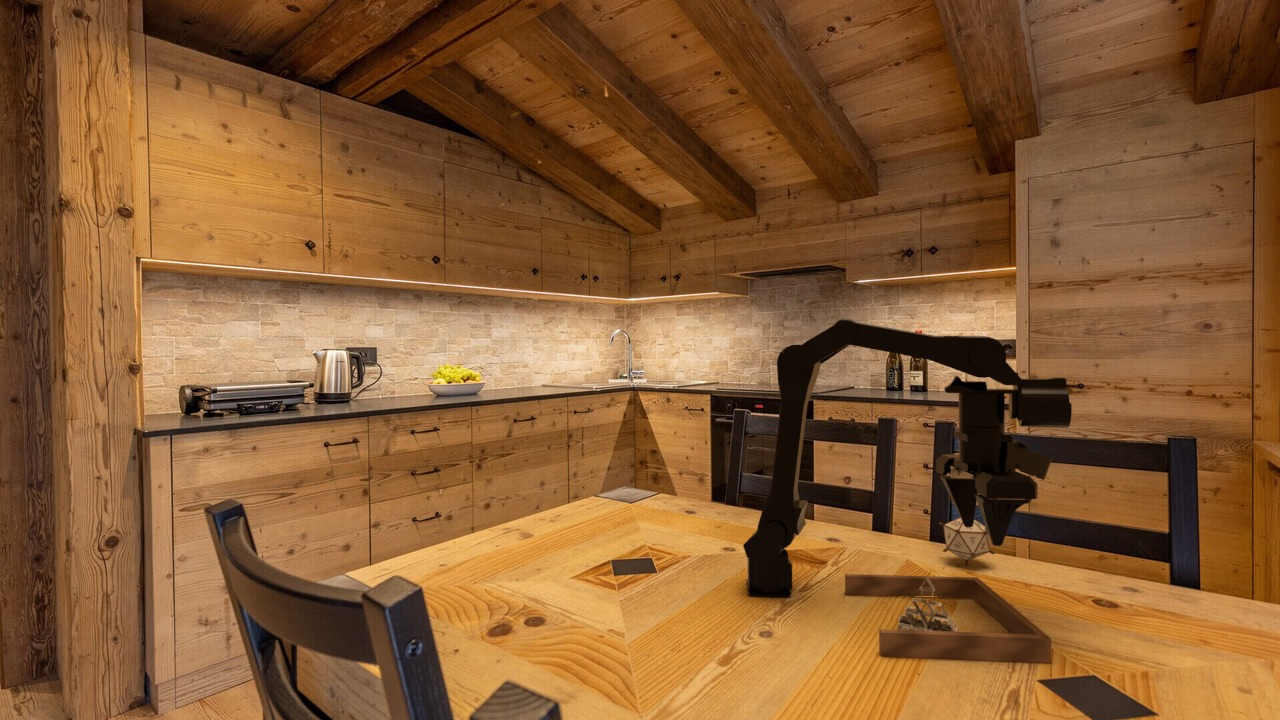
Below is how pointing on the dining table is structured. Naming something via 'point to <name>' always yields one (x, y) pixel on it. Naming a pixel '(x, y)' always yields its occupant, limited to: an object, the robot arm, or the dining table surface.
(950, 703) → the dining table surface
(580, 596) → the dining table surface
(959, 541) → the game die
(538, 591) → the dining table surface
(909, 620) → the house of cards
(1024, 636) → the wooden arch
